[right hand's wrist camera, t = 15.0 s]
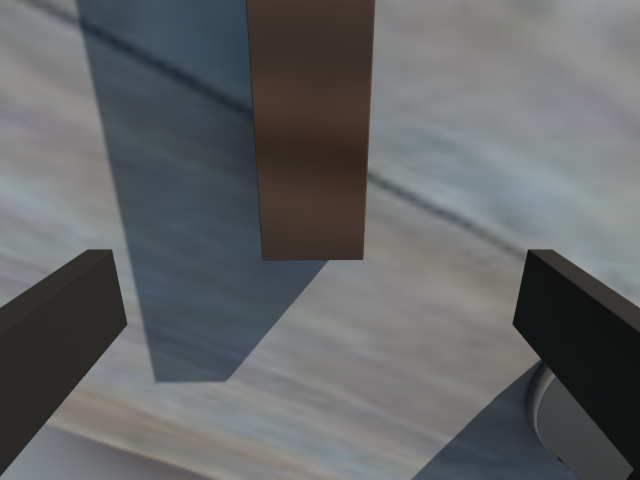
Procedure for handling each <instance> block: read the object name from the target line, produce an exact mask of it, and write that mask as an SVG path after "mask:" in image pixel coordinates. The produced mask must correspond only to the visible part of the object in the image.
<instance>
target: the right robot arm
mask: <svg viewBox="0 0 640 480" xmlns="http://www.w3.org/2000/svg"><path fill="white" fill-rule="evenodd" d="M126 326H127V320H126V315H125V310H124V305H123V300H122V296H121V291H120V286H119V281H118V276H117V271H116V267H115V262H114V257H113V252H112V250H86V251H85V252H83V253H82V254H80V255H79V256H77V257H76V258H74V259H73V260H71V261H70V262H68V263H67V264H65V265H64V266H62V267H61V268H59V269H58V270H56V271H55V272H53V273H52V274H50V275H49V276H47V277H46V278H44V279H43V280H41V281H40V282H38V283H37V284H35V285H34V286H32V287H31V288H29V289H28V290H26V291H25V292H23V293H22V294H20V295H19V296H17V297H16V298H15V299H13V300H12V301H10V302H9V303H7V304H6V305H4V306H3V307H1V308H0V476H1V475H2V474H3V473H4V472H5V470H6V469H7V468H8V467H9V466H10V464H11V463H12V462H13V461H14V460H15V458H16V457H17V456H18V455H19V454H20V452H21V451H22V450H23V449H24V448H25V446H26V445H27V444H28V443H29V442H30V440H31V439H32V438H33V437H34V436H35V434H36V433H37V432H38V431H39V430H40V429H41V427H42V426H43V425H44V424H45V423H46V421H47V420H48V419H49V418H50V417H51V415H52V414H53V413H54V412H55V411H56V409H57V408H58V407H59V406H60V405H61V403H62V402H63V401H64V400H65V399H66V397H67V396H68V395H69V394H70V393H71V391H72V390H73V389H74V388H75V387H76V385H77V384H78V383H79V382H80V381H81V379H82V378H83V377H84V376H85V375H86V373H87V372H88V371H89V370H90V369H91V367H92V366H93V365H94V364H95V363H96V362H97V360H98V359H99V358H100V357H101V356H102V354H103V353H104V352H105V351H106V350H107V348H108V347H109V346H110V345H111V344H112V342H113V341H114V340H115V339H116V338H117V336H118V335H119V334H120V333H121V332H122V330H123V329H124V328H125V327H126ZM513 326H514V327H515V328H516V329H517V330H518V332H519V333H520V334H521V335H522V336H523V338H524V339H525V340H526V341H527V342H528V344H529V345H530V346H531V347H532V348H533V350H534V351H535V352H536V353H537V354H538V356H539V357H540V358H541V359H542V360H543V362H544V364H543V365H542V366H541V368H540V369H539V370H538V372H537V373H536V375H535V377H534V379H533V381H532V383H531V385H530V388H529V391H528V396H527V403H526V408H527V416H528V419H529V422H530V425H531V426H532V428H533V430H534V432H535V433H536V435H537V436H538V438H539V439H540V441H541V443H542V444H543V446H544V447H545V448H546V449H547V450H548V452H549V453H551V454H552V456H553V457H555V458H556V459H557V460H558V461H559V462H561V463H562V464H563V465H564V466H566V467H567V468H569V469H571V470H572V471H573V472H574V473H575V474H576V475H578V476H579V477H580V478H581V479H582V480H640V308H639V307H637V306H636V305H634V304H633V303H631V302H630V301H628V300H627V299H625V298H624V297H623V296H621V295H620V294H618V293H617V292H615V291H614V290H612V289H611V288H609V287H608V286H606V285H605V284H603V283H602V282H600V281H599V280H597V279H596V278H594V277H593V276H591V275H590V274H588V273H587V272H585V271H584V270H582V269H581V268H579V267H578V266H576V265H575V264H573V263H572V262H570V261H569V260H567V259H566V258H564V257H563V256H561V255H560V254H558V253H557V252H555V251H554V250H528V252H527V257H526V262H525V267H524V271H523V276H522V281H521V286H520V291H519V296H518V300H517V305H516V310H515V315H514V320H513Z"/></svg>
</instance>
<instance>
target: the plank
mask: <svg viewBox="0 0 640 480" xmlns="http://www.w3.org/2000/svg"><path fill="white" fill-rule="evenodd" d="M246 8H247V24H248V40H249V56H250V72H251V87H252V103H253V119H254V135H255V151H256V167H257V182H258V198H259V214H260V230H261V246H262V259H263V260H363V254H364V232H365V210H366V189H367V167H368V146H369V124H370V103H371V81H372V59H373V38H374V16H375V0H246Z"/></svg>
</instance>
